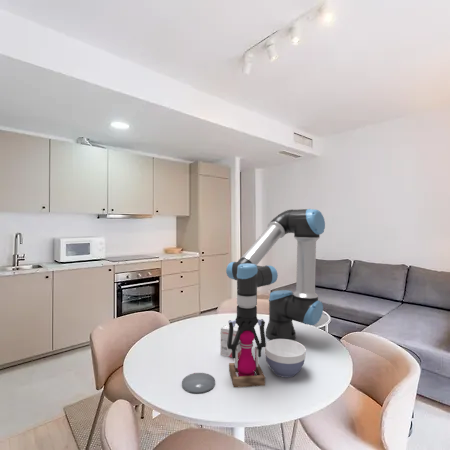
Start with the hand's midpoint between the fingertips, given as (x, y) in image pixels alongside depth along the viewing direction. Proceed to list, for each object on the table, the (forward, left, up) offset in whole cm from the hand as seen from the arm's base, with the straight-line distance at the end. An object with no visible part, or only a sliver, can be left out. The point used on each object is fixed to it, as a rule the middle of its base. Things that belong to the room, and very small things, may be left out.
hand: (246, 365), depth 109 cm
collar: (0, 0, -5) cm, 5 cm away
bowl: (-16, -3, -5) cm, 17 cm away
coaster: (+18, +2, -5) cm, 19 cm away
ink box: (+3, -19, -5) cm, 20 cm away
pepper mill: (0, 0, -5) cm, 5 cm away
